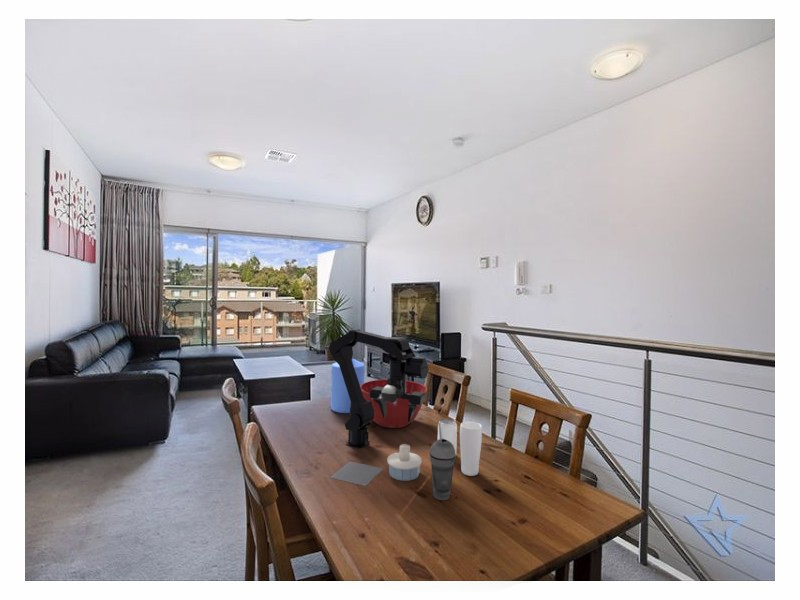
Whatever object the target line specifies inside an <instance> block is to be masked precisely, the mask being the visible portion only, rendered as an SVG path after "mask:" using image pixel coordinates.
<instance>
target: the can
mask: <svg viewBox="0 0 800 600" xmlns="http://www.w3.org/2000/svg"><path fill="white" fill-rule="evenodd" d="M439 423H440V424H441V437H442V439H446V440H448V441H450V442H451V443H452V445H453V446H454V449H455V454H456V455H457V446H458V444H457V443H458V438H457V437H458V426H457V425H458V424H457V421H456V420H455V419H452V418H441V419H439V422H438V424H437V440H439V439H440V434H439Z"/></svg>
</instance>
